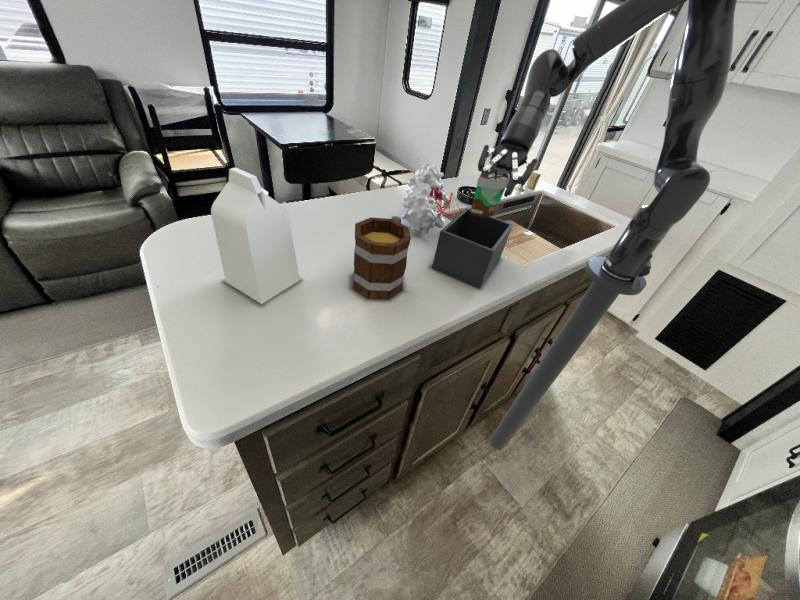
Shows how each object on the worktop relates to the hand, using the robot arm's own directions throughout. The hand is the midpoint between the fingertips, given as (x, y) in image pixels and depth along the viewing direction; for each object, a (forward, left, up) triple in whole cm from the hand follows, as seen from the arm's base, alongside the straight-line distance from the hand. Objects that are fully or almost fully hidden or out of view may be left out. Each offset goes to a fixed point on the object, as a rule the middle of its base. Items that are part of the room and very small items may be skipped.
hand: (492, 190), depth 80 cm
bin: (+1, 0, -22) cm, 22 cm away
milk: (+38, +42, -22) cm, 61 cm away
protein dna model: (+22, -14, -22) cm, 34 cm away
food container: (0, -2, -7) cm, 7 cm away
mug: (+17, +22, -22) cm, 35 cm away
